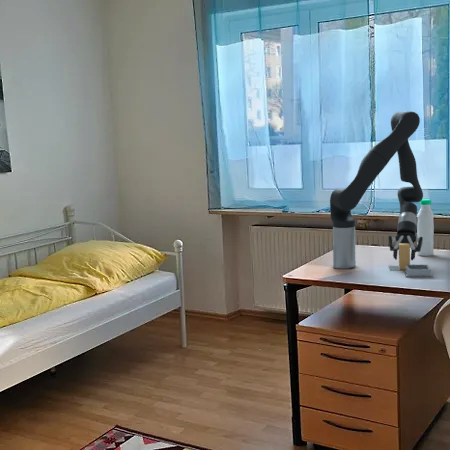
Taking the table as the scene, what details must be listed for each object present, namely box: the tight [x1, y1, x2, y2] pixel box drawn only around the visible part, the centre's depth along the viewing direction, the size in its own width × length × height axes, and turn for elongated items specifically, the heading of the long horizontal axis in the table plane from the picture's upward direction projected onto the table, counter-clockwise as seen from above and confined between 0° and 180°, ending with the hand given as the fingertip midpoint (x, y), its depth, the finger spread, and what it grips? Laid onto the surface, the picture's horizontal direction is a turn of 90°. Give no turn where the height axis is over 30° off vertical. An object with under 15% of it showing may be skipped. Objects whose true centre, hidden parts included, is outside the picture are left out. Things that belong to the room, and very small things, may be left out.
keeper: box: [402, 264, 434, 278], centre depth 252 cm, size 10×10×3 cm
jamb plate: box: [388, 265, 405, 272], centre depth 263 cm, size 12×9×1 cm
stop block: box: [398, 243, 411, 269], centre depth 263 cm, size 4×4×10 cm
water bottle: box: [416, 198, 435, 257], centre depth 288 cm, size 7×7×25 cm
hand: (403, 258), depth 261 cm, fingers open, 5 cm apart
